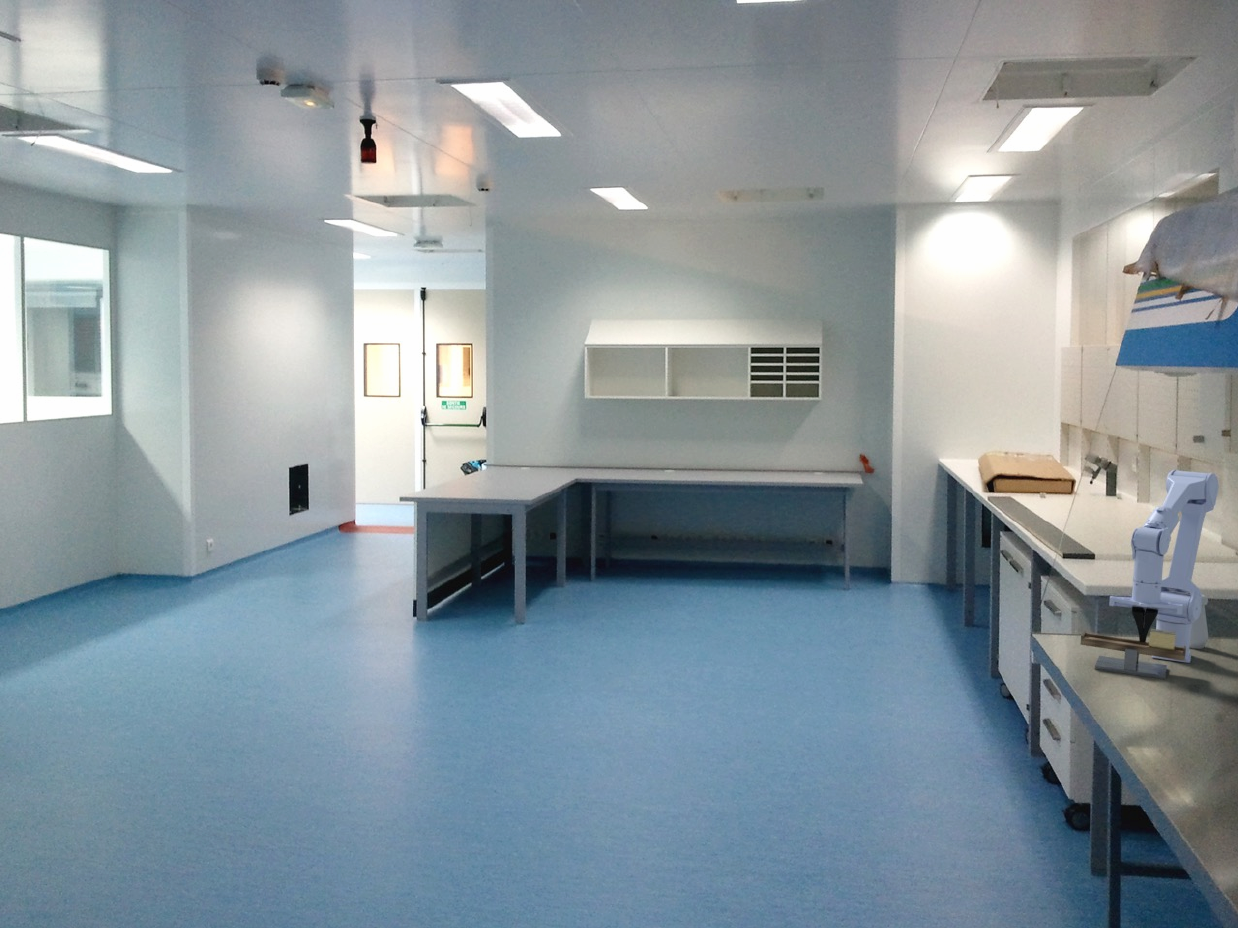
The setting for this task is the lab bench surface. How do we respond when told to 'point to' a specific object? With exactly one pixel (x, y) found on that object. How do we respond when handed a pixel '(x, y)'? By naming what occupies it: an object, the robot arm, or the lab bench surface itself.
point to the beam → (1130, 646)
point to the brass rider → (1162, 639)
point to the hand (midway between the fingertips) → (1142, 641)
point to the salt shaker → (1199, 628)
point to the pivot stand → (1131, 665)
